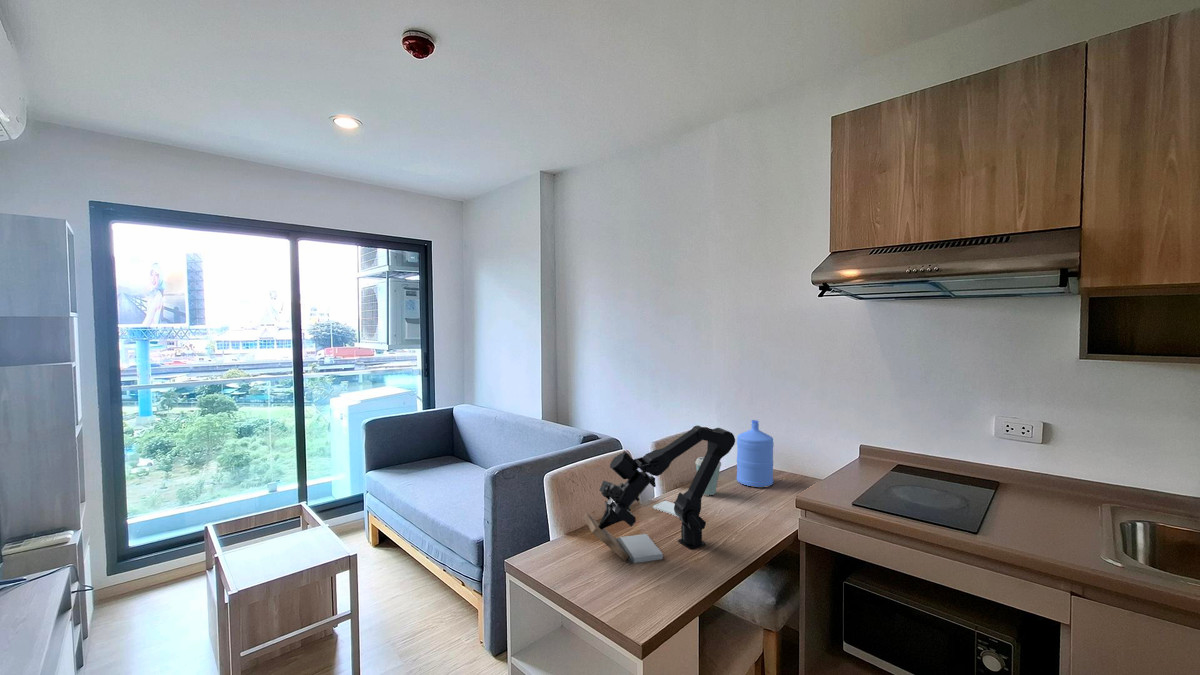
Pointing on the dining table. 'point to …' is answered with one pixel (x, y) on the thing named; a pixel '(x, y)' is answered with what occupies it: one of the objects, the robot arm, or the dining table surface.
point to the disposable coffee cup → (713, 482)
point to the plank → (605, 537)
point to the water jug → (755, 457)
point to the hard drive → (665, 507)
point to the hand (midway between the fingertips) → (599, 528)
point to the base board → (640, 548)
